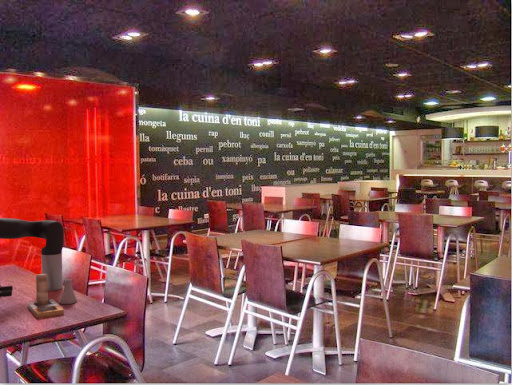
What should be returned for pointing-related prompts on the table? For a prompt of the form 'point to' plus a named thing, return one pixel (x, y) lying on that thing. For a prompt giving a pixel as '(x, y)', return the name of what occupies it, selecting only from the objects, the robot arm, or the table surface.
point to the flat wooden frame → (45, 309)
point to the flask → (68, 293)
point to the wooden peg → (42, 289)
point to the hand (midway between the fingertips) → (12, 290)
